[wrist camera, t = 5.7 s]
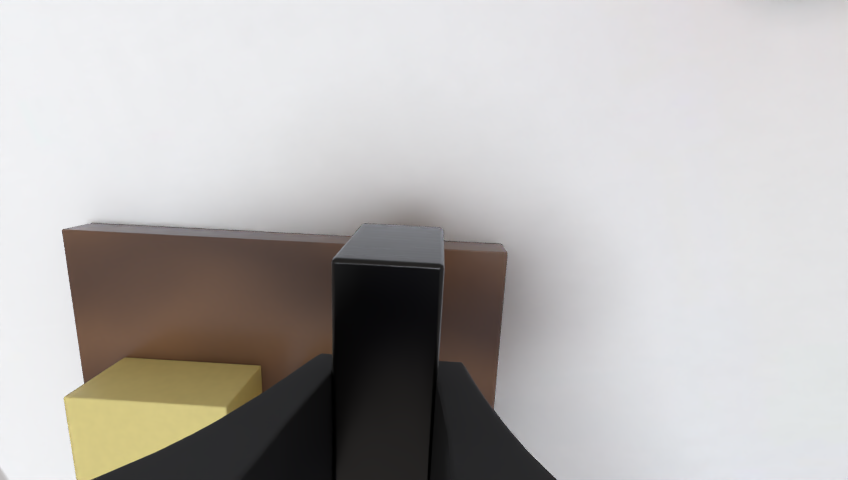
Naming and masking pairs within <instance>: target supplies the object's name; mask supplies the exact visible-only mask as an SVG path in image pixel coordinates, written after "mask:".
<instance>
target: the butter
mask: <svg viewBox="0 0 848 480" xmlns="http://www.w3.org/2000/svg"><path fill="white" fill-rule="evenodd" d="M261 393H262V376H261V366H258V365H242V364H225V363H209V362H192V361H175V360H159V359H142V358H123V359H121V360H120V361H118V362H117V363H115V364H114V365H112V366H111V367H109V368H108V369H106V370H105V371H103V372H102V373H100V374H99V375H97V376H95V377H94V378H92V379H91V380H89V381H88V382H86V383H85V384H83V385H82V386H80V387H79V388H77V389H76V390H74V391H73V392H71V393H70V394H68V395H66V396H65V397H64V403H65V410H66V416H67V422H68V429H69V435H70V441H71V447H72V454H73V460H74V466H75V473H76V479H77V480H91V479H94V478H96V477H98V476H101V475H103V474H106V473H108V472H110V471H113V470H115V469H117V468H120V467H122V466H124V465H127V464H129V463H131V462H134V461H136V460H138V459H141V458H143V457H145V456H148V455H150V454H152V453H155V452H157V451H159V450H161V449H163V448H165V447H167V446H169V445H171V444H173V443H175V442H177V441H179V440H181V439H183V438H185V437H187V436H189V435H191V434H193V433H195V432H197V431H199V430H201V429H203V428H204V427H206V426H208V425H210V424H212V423H214V422H215V421H217V420H219V419H221V418H222V417H224V416H225V415H227V414H229V413H230V412H232V411H234V410H235V409H237V408H239V407H240V406H242V405H244V404H245V403H247V402H248V401H250V400H252V399H253V398H255V397H257V396H258V395H260V394H261Z"/></svg>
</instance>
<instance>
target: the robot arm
mask: <svg viewBox="0 0 848 480" xmlns="http://www.w3.org/2000/svg"><path fill="white" fill-rule="evenodd" d="M91 480H333V388H332V354H323V353H321V354H319V355H318V356H316V357H314V358H313V359H311V360H310V361H308V362H307V363H306V364H304V365H303V366H301V367H300V368H298V369H297V370H295V371H294V372H293V373H291V374H290V375H288V376H287V377H285V378H284V379H282V380H281V381H279V382H278V383H276V384H275V385H273V386H272V387H270V388H269V389H267V390H266V391H265V392H263V393H261V394H260V395H258V396H257V397H255V398H253V399H252V400H250V401H248V402H247V403H245V404H244V405H242V406H240V407H239V408H237V409H235V410H234V411H232V412H230V413H229V414H227V415H225V416H224V417H222V418H221V419H219V420H217V421H215V422H214V423H212V424H210V425H208V426H206V427H204V428H203V429H201V430H199V431H197V432H195V433H193V434H191V435H189V436H187V437H185V438H183V439H181V440H179V441H177V442H175V443H173V444H171V445H169V446H167V447H165V448H163V449H161V450H159V451H157V452H155V453H152V454H150V455H148V456H145V457H143V458H141V459H138V460H136V461H134V462H131V463H129V464H127V465H124V466H122V467H120V468H117V469H115V470H113V471H110V472H108V473H106V474H103V475H101V476H98V477H96V478H94V479H91ZM430 480H557V479H556V478H555V477H553V476H552V475H551V474H550V473H549V472H548V471H547V470H546V469H545V468H544V467H543V466H542V465H541V464H540V463H539V462H538V461H537V460H536V459H535V458H534V457H533V456H532V455H531V454H530V453H529V452H528V451H527V450H526V449H525V448H524V447H523V445H522V444H521V443H520V442H519V441H518V440H517V438H516V437H515V436H514V435H513V434H512V433H511V431H510V430H509V429H508V428H507V426H506V425H505V424H504V423H503V421H502V420H501V419H500V418H499V416H498V415H497V414H496V412H495V411H494V410H493V408H492V407H491V406H490V404H489V403H488V401H487V400H486V399H485V397H484V396H483V394H482V393H481V391H480V390H479V388H478V387H477V385H476V384H475V382H474V380H473V379H472V377H471V375H470V374H469V372H468V370H467V368H466V367H465V366H464V365H463V363H462V362H449V361H439V366H438V380H436V395H435V410H434V426H433V441H432V456H431V472H430Z"/></svg>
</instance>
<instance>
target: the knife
mask: <svg viewBox="0 0 848 480" xmlns="http://www.w3.org/2000/svg"><path fill="white" fill-rule="evenodd" d="M331 270H332V388H333V480H430V472H431V456H432V441H433V426H434V410H435V395H436V380H438V366H439V350H440V335H441V319H442V303H443V288H444V272H445V260H444V231H443V229H442V228H440V227H422V226H404V225H386V224H368V223H365V224H362V225H361V226H360V228H359V229H358V230H357V231H356V232H355V233H354V235H353V236H352V237H351V238H350V239H349V240H348V241H347V243H346V244H345V245H344V246H343V247H342V248H341V250H340V251H339V252H338V253H337V254H336V255H335V257H334V258H333V259H332V262H331Z"/></svg>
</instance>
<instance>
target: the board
mask: <svg viewBox="0 0 848 480" xmlns="http://www.w3.org/2000/svg"><path fill="white" fill-rule="evenodd" d="M62 234H63V241H64V248H65V254H66V261H67V268H68V275H69V282H70V289H71V296H72V302H73V309H74V316H75V323H76V330H77V337H78V344H79V351H80V357H81V364H82V371H83V378H84V384H85V383H86V382H88V381H89V380H91V379H92V378H94V377H95V376H97V375H99V374H100V373H102V372H103V371H105V370H106V369H108V368H109V367H111V366H112V365H114V364H115V363H117V362H118V361H120V360H121V359H123V358H142V359H159V360H175V361H192V362H209V363H225V364H242V365H258V366H261V376H262V393H263V392H265V391H266V390H267V389H269V388H270V387H272V386H273V385H275V384H276V383H278V382H279V381H281V380H282V379H284V378H285V377H287V376H288V375H290V374H291V373H293V372H294V371H295V370H297V369H298V368H300V367H301V366H303V365H304V364H306V363H307V362H308V361H310V360H311V359H313V358H314V357H316V356H318V355H319V354H321V353H323V354H332V270H331V262H332V259H333V258H334V257H335V255H336V254H337V253H338V252H339V251H340V250H341V248H342V247H343V246H344V245H345V244H346V243H347V241H348V240H349V239H350V238H351V237H352V236H333V235H313V234H294V233H274V232H254V231H234V230H215V229H195V228H175V227H155V226H136V225H116V224H96V223H91V224H86V225H81V226H76V227H72V228H67V229H63V230H62ZM444 260H445V272H444V288H443V303H442V319H441V335H440V350H439V361H449V362H462V363H463V365H464V366H465V367H466V368H467V370H468V372H469V374H470V375H471V377H472V379H473V380H474V382H475V384H476V385H477V387H478V388H479V390H480V391H481V393H482V394H483V396H484V397H485V399H486V400H487V401H488V403H489V404H490V406H491V407H492V408H493V410H494V400H495V389H496V377H497V366H498V355H499V343H500V332H501V321H502V310H503V298H504V287H505V276H506V265H507V251H506V250H505V248H504V247H503V245H502V244H491V243H471V242H451V241H444Z"/></svg>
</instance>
